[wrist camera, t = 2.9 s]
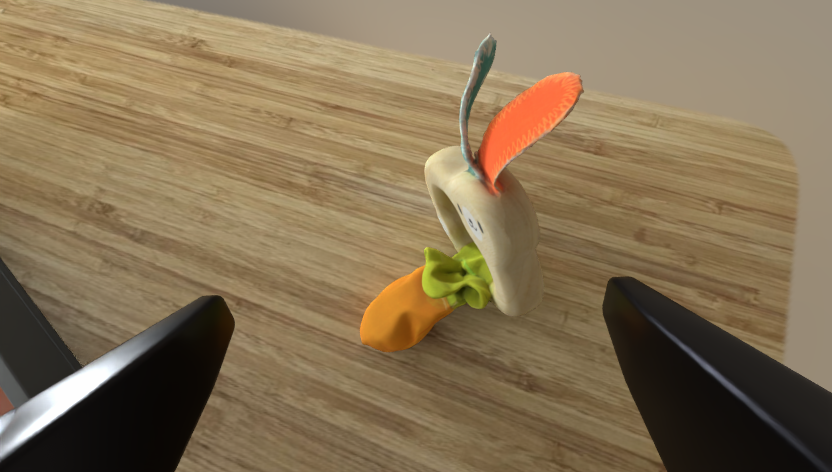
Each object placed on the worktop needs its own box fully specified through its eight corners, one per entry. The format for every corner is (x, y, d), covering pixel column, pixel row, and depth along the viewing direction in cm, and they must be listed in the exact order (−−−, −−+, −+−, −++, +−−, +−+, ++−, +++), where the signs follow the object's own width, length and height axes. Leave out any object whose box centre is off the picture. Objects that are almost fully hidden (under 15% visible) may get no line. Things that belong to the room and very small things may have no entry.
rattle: (343, 213, 19) (184, 68, 8) (493, 177, 19) (544, -30, 8) (366, 356, 17) (203, 423, 6) (533, 321, 17) (680, 326, 6)
